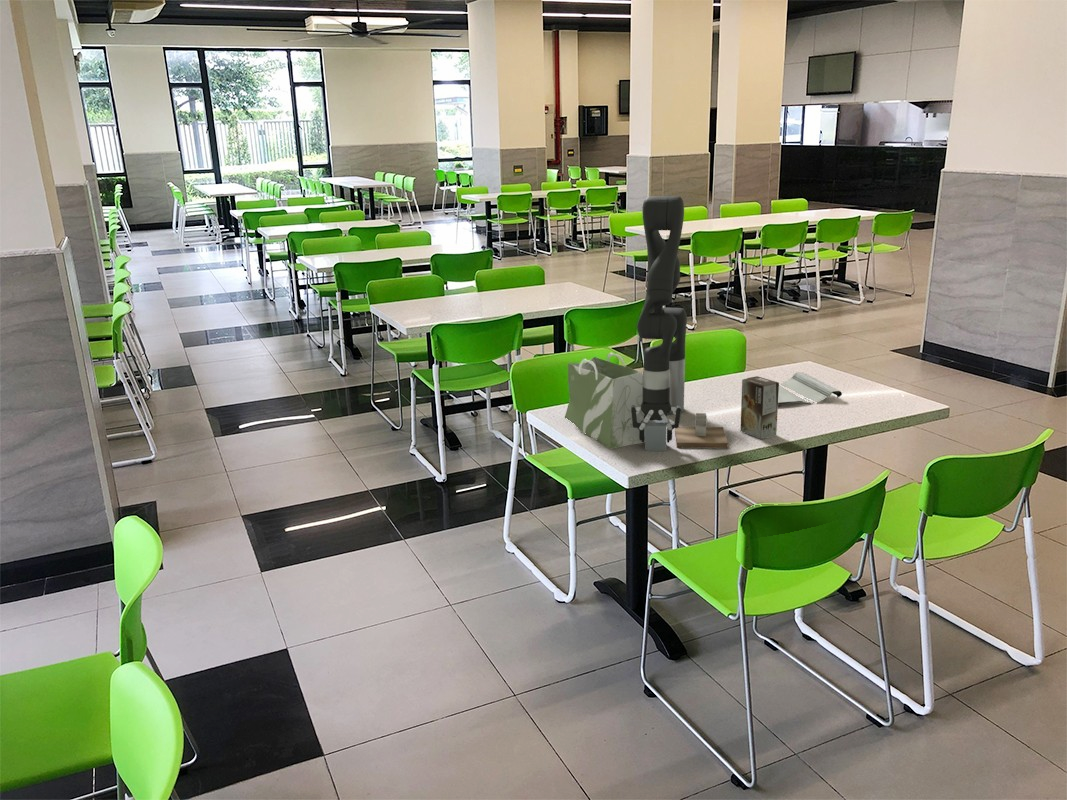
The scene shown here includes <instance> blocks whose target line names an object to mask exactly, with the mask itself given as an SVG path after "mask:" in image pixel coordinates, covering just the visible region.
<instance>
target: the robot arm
mask: <svg viewBox="0 0 1067 800" xmlns="http://www.w3.org/2000/svg"><path fill="white" fill-rule="evenodd" d="M641 211H642V222H643V223H642V225H643V229H644V230H643V231H644V235H645V236H644V237H645V240H646V241H645V242H646V249H647V251H646V252H647V271H648V274H647V279H646V293H645V294H646V295H645V299H644V303H643V306H642V309H641V312H640V314H639V317H638V319H637V323H636V330H637V331H636V333H637V334H638V336H639V337H640V338H642V339H645V340H662V342H661V344H659V345H655V346H654V345H652V346H649V347H646V348H645V349H644V351H643V371H642V376H643V381H642V385H643V388H642V404H641V406H635V405H632V406H631V413H632V423H633V427H634V428H638V429H639V439H640V440H642V442H643V443H645V442H644V427H645V424H647V422H648V421H649V420H658V421H661V420H663V421H664V423H665V424H666V444H667V443H670V441H672V440H673V430H675V428H678V427H679V426H680V420H681V413H682V412H684V410H685V382H686V381H685V378H686V377H685V376H686V339H687V338H686V336H687V335H686V334H687V323H688V319H687V318H688V316H687V311H686V309H685V308H683V307H665V306H668V305H670V304H671V303H672V300H673V293H674V292H675V290H676V289H677V287H678V285H679V284H680V281H681V264H680V262H681V261H680V258H679V257H678V253H679V249H680V243H681V237H682V232H683V225H684V219H685V204H684V200H683V198H682V196H678V195H652V196H651V195H650V196H647V197H646V198H645V199H644V201H643V204H642V210H641ZM660 231H669V235H668V239H667V241H665V240H664V238H663V237H662V235H661V233H660ZM674 338H675V340H674ZM639 410H641V411H642V412H643V413H644V417H643V419H642V421H641V423H638V422H637V416H636V414H638V413H639ZM668 414H670V415H671V414H673V415H674V420H673V421H674V422H671V421H670V419H669V417H668Z"/></svg>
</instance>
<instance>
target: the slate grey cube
mask: <svg viewBox="0 0 1067 800" xmlns="http://www.w3.org/2000/svg"><path fill="white" fill-rule="evenodd" d="M644 451H649V452H653V451H654V452H655V451H657V452H660V451H661V452H662V451H663V452H664V451H665V452H666V451H667V426H666V424H665V423H664V421H663V420H661V421H658V420H649V421H648V422H647V424H645V442H644Z"/></svg>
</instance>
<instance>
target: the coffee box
mask: <svg viewBox="0 0 1067 800" xmlns="http://www.w3.org/2000/svg"><path fill="white" fill-rule="evenodd" d="M779 384H780V382H778V381H775V380H772V379H768V378H765V377H762V376H758V375H757V376H751V377H747V378H744V379H742V380H741V403H740V405H741V407H740V429H739V430H740V432H741V431H742V433H744V432H745V433H744V434H747V435H749V434H750V435H749V436H752V437H755V438H758V439H759V440H764V439H768V438H772V437H776V436H777V433H778V432H777V428H778V409H779V404H778V393H779Z"/></svg>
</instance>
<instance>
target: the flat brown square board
mask: <svg viewBox="0 0 1067 800" xmlns="http://www.w3.org/2000/svg"><path fill="white" fill-rule="evenodd" d="M674 434H675V443H676V448H681V447H683V449H684V448H686V449H688V448H689V449H690V448H695V449H696V448H698V449H700V448H701V449H702V448H703V449H706V448H707V449H728V448H729V446H728V445H729V442H728V439H727V436H726V433H725V429H724V426H707V413H705V412H701V413H699V412H696V413H695V426H680V425H679V427H678V428H674Z"/></svg>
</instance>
